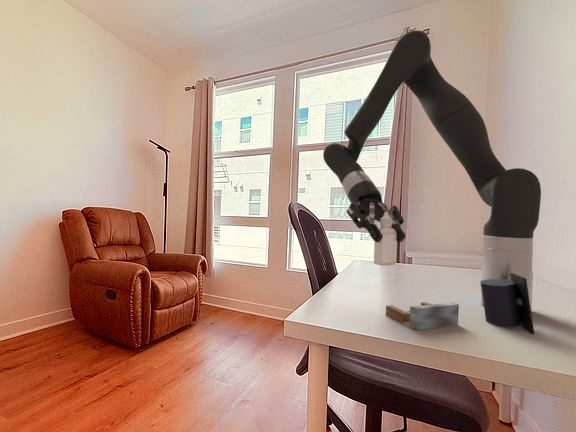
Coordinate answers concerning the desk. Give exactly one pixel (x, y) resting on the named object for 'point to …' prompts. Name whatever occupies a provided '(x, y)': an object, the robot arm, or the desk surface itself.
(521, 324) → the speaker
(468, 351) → the desk surface
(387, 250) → the eye dropper bottle
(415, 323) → the grey brown angular piece
